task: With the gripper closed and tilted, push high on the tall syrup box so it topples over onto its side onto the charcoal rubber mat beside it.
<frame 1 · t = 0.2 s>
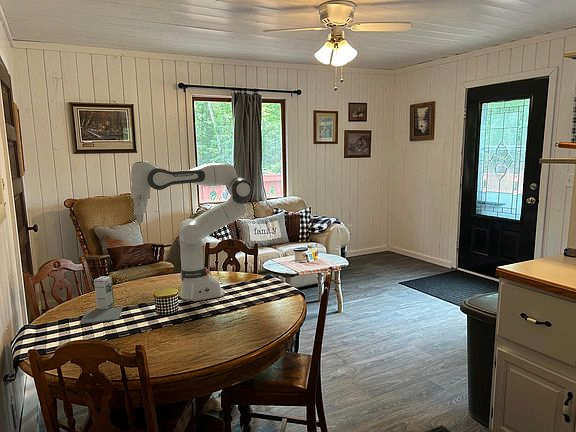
hand: (140, 223, 206), 39 cm above the table, tool pointing down, fingers open, 8 cm apart
syrup box: (105, 307, 205), on the table
mat: (102, 315, 193), on the table
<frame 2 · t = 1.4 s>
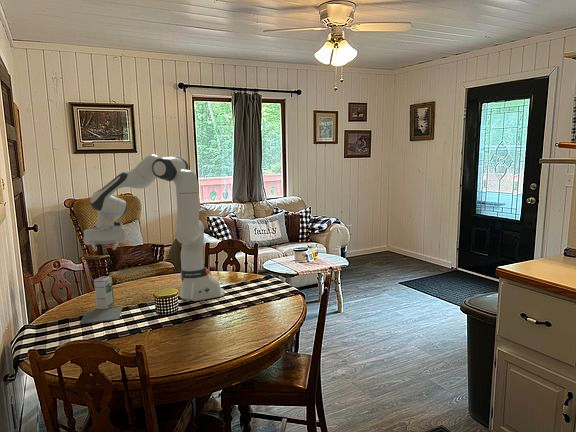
hand: (104, 249, 215), 25 cm above the table, tool tilted 45°, fingers open, 8 cm apart
nothing on the table moved.
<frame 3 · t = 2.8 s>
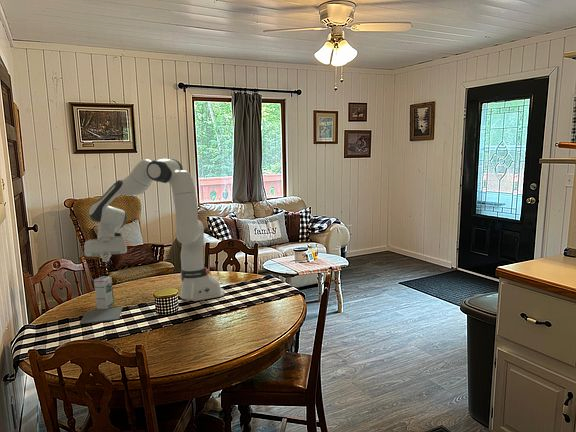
hand: (105, 260, 214), 20 cm above the table, tool tilted 45°, fingers closed
nothing on the table moved.
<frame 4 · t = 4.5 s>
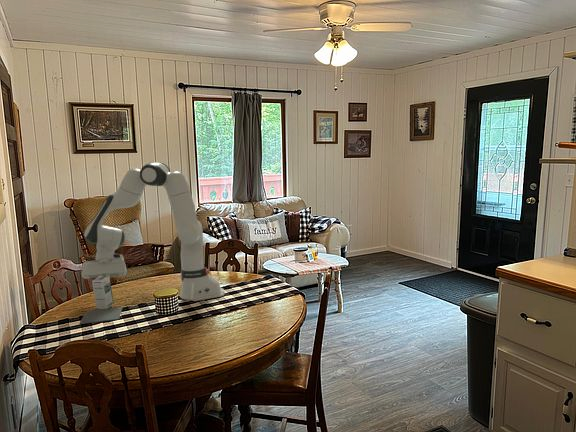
hand: (103, 283, 206), 11 cm above the table, tool tilted 45°, fingers closed
syrup box: (105, 306, 205), on the table, touching gripper
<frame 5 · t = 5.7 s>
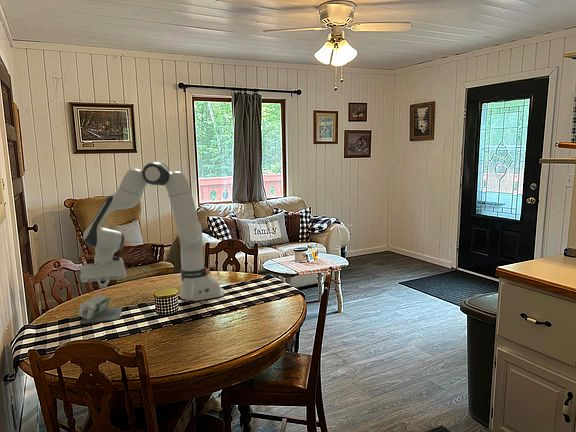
hand: (103, 287, 201), 10 cm above the table, tool tilted 45°, fingers closed
syrup box: (103, 301, 202), point 4 cm above the table, touching mat
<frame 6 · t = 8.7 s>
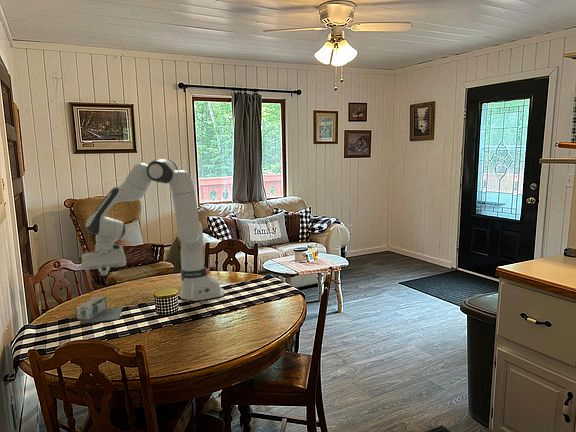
hand: (103, 274, 206), 15 cm above the table, tool tilted 45°, fingers closed
syrup box: (101, 302, 202), point 3 cm above the table, touching mat
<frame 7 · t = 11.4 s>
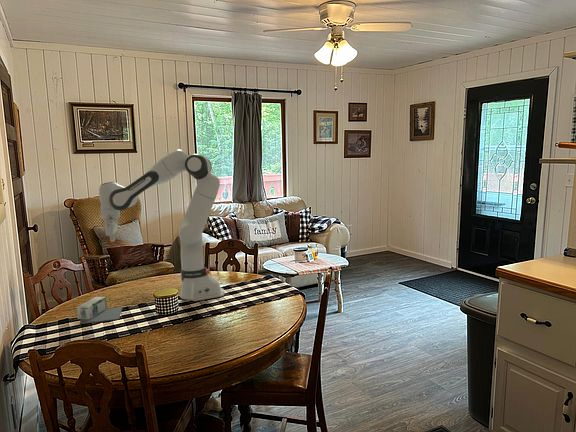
hand: (112, 241, 215), 29 cm above the table, tool pointing down, fingers closed
nothing on the table moved.
at the end: syrup box tilted 90°; syrup box touching mat; the gripper is holding nothing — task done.
